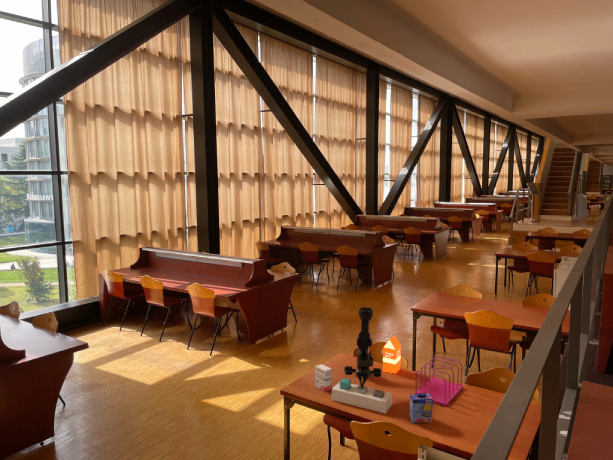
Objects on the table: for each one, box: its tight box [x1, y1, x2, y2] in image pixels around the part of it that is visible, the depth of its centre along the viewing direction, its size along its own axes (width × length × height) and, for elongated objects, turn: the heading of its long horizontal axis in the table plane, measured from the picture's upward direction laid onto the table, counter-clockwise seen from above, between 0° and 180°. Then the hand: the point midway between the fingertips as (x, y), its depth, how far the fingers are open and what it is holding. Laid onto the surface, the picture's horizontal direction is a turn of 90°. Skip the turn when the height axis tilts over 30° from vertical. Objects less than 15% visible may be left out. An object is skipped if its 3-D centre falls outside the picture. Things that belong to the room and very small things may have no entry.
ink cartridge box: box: [408, 393, 434, 424], centre depth 227 cm, size 10×6×14 cm, turn 95°
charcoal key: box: [373, 389, 384, 398], centre depth 240 cm, size 4×4×4 cm
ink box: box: [314, 363, 333, 392], centre depth 260 cm, size 8×5×12 cm, turn 39°
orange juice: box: [382, 335, 402, 375], centre depth 281 cm, size 8×9×20 cm
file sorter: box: [413, 355, 464, 407], centre depth 254 cm, size 17×25×16 cm
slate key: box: [356, 385, 369, 394], centre depth 244 cm, size 4×4×4 cm
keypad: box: [331, 380, 393, 414], centre depth 245 cm, size 10×29×6 cm, turn 62°
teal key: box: [339, 377, 352, 390], centre depth 248 cm, size 4×4×4 cm
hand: (361, 387), depth 244 cm, fingers closed, pressing on slate key
